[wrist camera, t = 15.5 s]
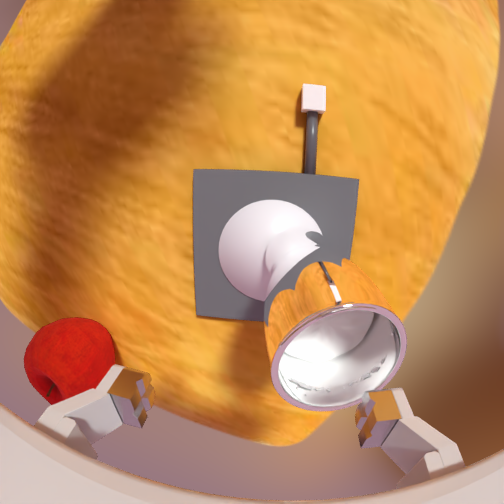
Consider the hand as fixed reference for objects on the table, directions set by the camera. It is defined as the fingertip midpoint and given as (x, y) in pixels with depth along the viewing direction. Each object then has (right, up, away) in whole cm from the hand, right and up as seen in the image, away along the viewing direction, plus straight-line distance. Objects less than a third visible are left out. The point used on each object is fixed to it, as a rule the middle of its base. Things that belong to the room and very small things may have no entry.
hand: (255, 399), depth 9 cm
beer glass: (+4, +5, +17) cm, 18 cm away
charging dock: (+2, +10, +17) cm, 19 cm away
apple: (-22, -6, +24) cm, 33 cm away
